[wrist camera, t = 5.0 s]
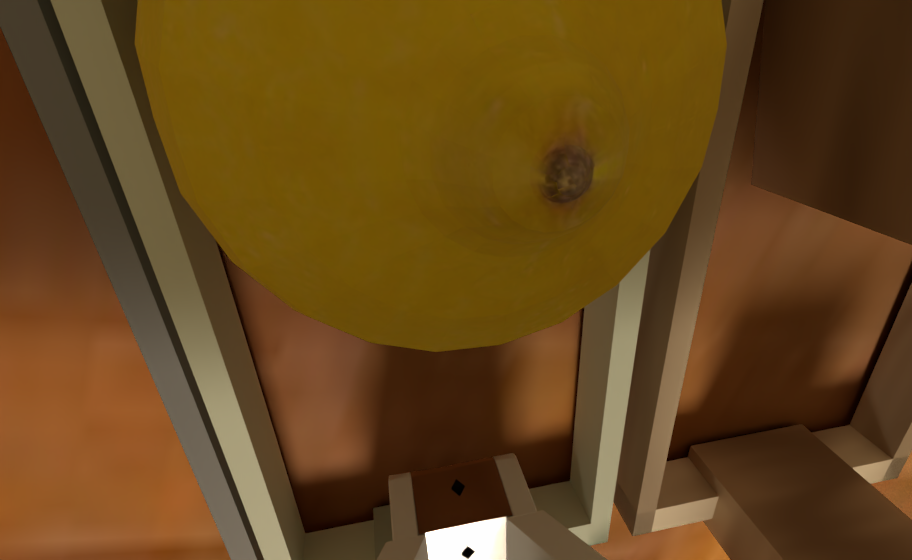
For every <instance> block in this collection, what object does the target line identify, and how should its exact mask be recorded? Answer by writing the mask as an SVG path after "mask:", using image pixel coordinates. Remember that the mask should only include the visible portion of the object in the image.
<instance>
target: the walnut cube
mask: <svg viewBox="0 0 912 560" xmlns="http://www.w3.org/2000/svg"><path fill="white" fill-rule="evenodd" d="M751 185H754V186H757V187H759V188H762V189H765V190H767V191H770V192H773V193H775V194H778V195H781V196H783V197H786V198H789V199H791V200H794V201H797V202H799V203H802V204H805V205H807V206H810V207H813V208H815V209H818V210H821V211H823V212H826V213H829V214H831V215H834V216H837V217H839V218H842V219H845V220H847V221H850V222H853V223H855V224H858V225H861V226H863V227H866V228H869V229H871V230H874V231H876V232H879V233H882V234H884V235H887V236H890V237H892V238H895V239H898V240H900V241H903V242H906V243H908V244H911V245H912V0H765V12H764V25H763V38H762V51H761V64H760V77H759V90H758V103H757V116H756V129H755V142H754V155H753V168H752V181H751Z"/></svg>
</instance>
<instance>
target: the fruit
mask: <svg viewBox="0 0 912 560" xmlns="http://www.w3.org/2000/svg"><path fill="white" fill-rule="evenodd" d="M135 47H136V51H137V55H138V59H139V63H140V67H141V71H142V75H143V79H144V83H145V87H146V91H147V95H148V98H149V102H150V106H151V110H152V114H153V118H154V121H155V124H156V127H157V129H158V132H159V135H160V138H161V141H162V143H163V146H164V149H165V152H166V154H167V157H168V160H169V163H170V166H171V168H172V171H173V174H174V177H175V180H176V182H177V185H178V188H179V191H180V193H181V195H182V196H183V197H184V199H185V200H186V201H187V203H188V204H189V205H190V207H191V208H192V209H193V211H194V212H195V213H196V215H197V216H198V217H199V219H200V220H201V221H202V223H203V224H204V225H205V227H206V228H207V229H208V231H209V232H210V233H211V235H212V236H213V237H214V239H215V240H216V241H217V243H218V244H219V245H220V247H221V248H222V249H223V251H224V252H225V253H226V255H227V256H228V257H229V259H230V260H231V261H232V262H233V263H234V264H235V265H237V266H238V267H239V268H241V269H242V270H243V271H244V272H246V273H247V274H248V275H250V276H251V277H252V278H253V279H255V280H256V281H257V282H259V283H260V284H261V285H262V286H264V287H265V288H266V289H268V290H269V291H270V292H271V293H273V294H274V295H275V296H277V297H278V298H279V299H281V300H282V301H283V302H284V303H286V304H287V305H288V306H290V307H291V308H292V309H293V310H295V311H297V312H299V313H302V314H304V315H306V316H308V317H310V318H313V319H315V320H318V321H320V322H322V323H325V324H327V325H329V326H332V327H334V328H337V329H339V330H341V331H344V332H346V333H349V334H351V335H353V336H356V337H358V338H360V339H363V340H365V341H368V342H370V343H376V344H383V345H390V346H397V347H404V348H412V349H419V350H426V351H433V352H440V351H449V350H458V349H468V348H477V347H486V346H495V345H501V344H504V343H507V342H510V341H512V340H515V339H518V338H520V337H523V336H526V335H529V334H531V333H534V332H537V331H539V330H542V329H545V328H548V327H550V326H553V325H556V324H558V323H561V322H563V321H564V320H566V319H567V318H569V317H570V316H572V315H573V314H575V313H576V312H578V311H579V310H581V309H582V308H584V307H585V306H587V305H588V304H590V303H591V302H593V301H594V300H596V299H597V298H599V297H600V296H602V295H603V294H605V293H606V292H607V291H609V290H610V289H612V288H613V287H615V286H616V285H618V284H619V283H620V281H621V280H622V279H623V278H624V277H625V276H626V275H627V274H628V273H629V272H630V271H631V269H632V268H633V267H634V266H635V265H636V264H637V263H638V262H639V261H640V260H641V259H642V258H643V256H644V255H645V254H646V253H647V252H648V251H649V250H650V249H651V248H652V247H653V246H654V245H655V243H656V242H657V241H658V240H659V239H660V238H661V237H662V236H663V235H664V234H665V232H666V231H667V229H668V227H669V225H670V223H671V222H672V220H673V218H674V216H675V214H676V213H677V211H678V209H679V207H680V206H681V204H682V202H683V200H684V198H685V197H686V195H687V193H688V191H689V189H690V188H691V186H692V184H693V182H694V180H695V179H696V177H697V175H698V173H699V172H700V170H701V168H702V165H703V162H704V158H705V154H706V151H707V147H708V143H709V140H710V136H711V132H712V129H713V125H714V121H715V118H716V114H717V110H718V105H719V98H720V91H721V84H722V77H723V70H724V63H725V56H726V49H727V41H726V33H725V25H724V17H723V9H722V1H721V0H138V3H137V17H136V31H135Z"/></svg>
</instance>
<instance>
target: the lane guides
mask: <svg viewBox="0 0 912 560" xmlns="http://www.w3.org/2000/svg"><path fill="white" fill-rule="evenodd" d="M0 27H1V29H2V32H3V34H4V36H5V39H6V41H7V43H8V45H9V48H10V50H11V52H12V55H13V57H14V59H15V62H16V64H17V66H18V69H19V71H20V73H21V75H22V78H23V80H24V82H25V85H26V87H27V89H28V92H29V94H30V96H31V99H32V101H33V103H34V105H35V108H36V110H37V112H38V115H39V117H40V119H41V122H42V124H43V126H44V129H45V131H46V133H47V135H48V138H49V140H50V142H51V145H52V147H53V149H54V152H55V154H56V156H57V159H58V161H59V163H60V165H61V168H62V170H63V172H64V175H65V177H66V179H67V182H68V184H69V186H70V189H71V191H72V193H73V195H74V198H75V200H76V202H77V205H78V207H79V209H80V212H81V214H82V216H83V219H84V221H85V223H86V225H87V228H88V230H89V232H90V235H91V237H92V239H93V242H94V244H95V246H96V249H97V251H98V253H99V255H100V258H101V260H102V262H103V265H104V267H105V269H106V272H107V274H108V276H109V279H110V281H111V283H112V285H113V288H114V290H115V292H116V295H117V297H118V299H119V302H120V304H121V306H122V309H123V311H124V313H125V315H126V318H127V320H128V322H129V325H130V327H131V329H132V332H133V334H134V336H135V339H136V341H137V343H138V345H139V348H140V350H141V352H142V355H143V357H144V359H145V362H146V364H147V366H148V369H149V371H150V373H151V375H152V378H153V380H154V382H155V385H156V387H157V389H158V392H159V394H160V396H161V399H162V401H163V403H164V405H165V408H166V410H167V412H168V415H169V417H170V419H171V422H172V424H173V426H174V429H175V431H176V433H177V435H178V438H179V440H180V442H181V445H182V447H183V449H184V452H185V454H186V456H187V459H188V461H189V463H190V465H191V468H192V470H193V472H194V475H195V477H196V479H197V482H198V484H199V486H200V489H201V491H202V493H203V495H204V498H205V500H206V502H207V505H208V507H209V509H210V512H211V514H212V516H213V519H214V521H215V523H216V525H217V528H218V530H219V532H220V535H221V537H222V539H223V542H224V544H225V546H226V549H227V551H228V553H229V555H230V558H231V560H264V558H263V555H262V552H261V550H260V547H259V545H258V542H257V539H256V537H255V534H254V532H253V529H252V526H251V524H250V521H249V518H248V516H247V513H246V511H245V508H244V505H243V503H242V500H241V498H240V495H239V492H238V490H237V487H236V484H235V482H234V479H233V477H232V474H231V471H230V469H229V466H228V463H227V461H226V458H225V456H224V453H223V450H222V448H221V445H220V443H219V440H218V437H217V435H216V432H215V429H214V427H213V424H212V422H211V419H210V416H209V414H208V411H207V409H206V406H205V403H204V401H203V398H202V395H201V393H200V390H199V388H198V385H197V382H196V380H195V377H194V375H193V372H192V369H191V367H190V364H189V361H188V359H187V356H186V354H185V351H184V348H183V346H182V343H181V340H180V338H179V335H178V333H177V330H176V327H175V325H174V322H173V320H172V317H171V314H170V312H169V309H168V306H167V304H166V301H165V299H164V296H163V293H162V291H161V288H160V286H159V283H158V280H157V278H156V275H155V272H154V270H153V267H152V265H151V262H150V259H149V257H148V254H147V252H146V249H145V246H144V244H143V241H142V238H141V236H140V233H139V231H138V228H137V225H136V223H135V220H134V217H133V215H132V212H131V210H130V207H129V204H128V202H127V199H126V197H125V194H124V191H123V189H122V186H121V183H120V181H119V178H118V176H117V173H116V170H115V168H114V165H113V163H112V160H111V157H110V155H109V152H108V149H107V147H106V144H105V142H104V139H103V136H102V134H101V131H100V129H99V126H98V123H97V121H96V118H95V115H94V113H93V110H92V108H91V105H90V102H89V100H88V97H87V94H86V92H85V89H84V87H83V84H82V81H81V79H80V76H79V74H78V71H77V68H76V66H75V63H74V60H73V58H72V55H71V53H70V50H69V47H68V45H67V42H66V40H65V37H64V34H63V32H62V29H61V26H60V24H59V21H58V19H57V16H56V13H55V11H54V8H53V6H52V3H51V0H0Z"/></svg>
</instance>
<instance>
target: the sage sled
mask: <svg viewBox="0 0 912 560" xmlns="http://www.w3.org/2000/svg"><path fill="white" fill-rule="evenodd" d="M51 3H52V6H53V8H54V11H55V13H56V16H57V19H58V21H59V24H60V26H61V29H62V32H63V34H64V37H65V40H66V42H67V45H68V47H69V50H70V53H71V55H72V58H73V60H74V63H75V66H76V68H77V71H78V74H79V76H80V79H81V81H82V84H83V87H84V89H85V92H86V94H87V97H88V100H89V102H90V105H91V108H92V110H93V113H94V115H95V118H96V121H97V123H98V126H99V129H100V131H101V134H102V136H103V139H104V142H105V144H106V147H107V149H108V152H109V155H110V157H111V160H112V163H113V165H114V168H115V170H116V173H117V176H118V178H119V181H120V183H121V186H122V189H123V191H124V194H125V197H126V199H127V202H128V204H129V207H130V210H131V212H132V215H133V217H134V220H135V223H136V225H137V228H138V231H139V233H140V236H141V238H142V241H143V244H144V246H145V249H146V252H147V254H148V257H149V259H150V262H151V265H152V267H153V270H154V272H155V275H156V278H157V280H158V283H159V286H160V288H161V291H162V293H163V296H164V299H165V301H166V304H167V306H168V309H169V312H170V314H171V317H172V320H173V322H174V325H175V327H176V330H177V333H178V335H179V338H180V340H181V343H182V346H183V348H184V351H185V354H186V356H187V359H188V361H189V364H190V367H191V369H192V372H193V375H194V377H195V380H196V382H197V385H198V388H199V390H200V393H201V395H202V398H203V401H204V403H205V406H206V409H207V411H208V414H209V416H210V419H211V422H212V424H213V427H214V429H215V432H216V435H217V437H218V440H219V443H220V445H221V448H222V450H223V453H224V456H225V458H226V461H227V463H228V466H229V469H230V471H231V474H232V477H233V479H234V482H235V484H236V487H237V490H238V492H239V495H240V498H241V500H242V503H243V505H244V508H245V511H246V513H247V516H248V518H249V521H250V524H251V526H252V529H253V532H254V534H255V537H256V539H257V542H258V545H259V547H260V550H261V552H262V555H263V558H264V560H377V558H378V556H379V554H380V553H381V551H382V549H383V547H384V545H385V543H386V542H389V541H393V539H392V526H391V512H390V505H387V506H382V507H376V508H373V516H374V520H371V521H366V522H361V523H356V524H351V525H346V526H341V527H335V528H330V529H325V530H320V531H315V532H310V533H305V531H304V528H303V524H302V521H301V518H300V514H299V511H298V508H297V505H296V501H295V498H294V495H293V492H292V488H291V485H290V482H289V478H288V475H287V472H286V469H285V465H284V462H283V459H282V456H281V452H280V449H279V446H278V442H277V439H276V436H275V433H274V429H273V426H272V423H271V420H270V416H269V413H268V410H267V407H266V403H265V400H264V397H263V393H262V390H261V387H260V384H259V380H258V377H257V374H256V371H255V367H254V364H253V361H252V357H251V354H250V351H249V348H248V344H247V341H246V338H245V335H244V331H243V328H242V325H241V321H240V318H239V315H238V312H237V308H236V305H235V302H234V299H233V295H232V292H231V289H230V285H229V282H228V279H227V276H226V272H225V269H224V266H223V263H222V259H221V256H220V253H219V249H218V246H217V243H216V240H215V239H214V237H213V236H212V235H211V233H210V232H209V231H208V229H207V228H206V227H205V225H204V224H203V223H202V221H201V220H200V219H199V217H198V216H197V215H196V213H195V212H194V211H193V209H192V208H191V207H190V205H189V204H188V203H187V201H186V200H185V199H184V197H183V196H182V195H181V193H180V191H179V188H178V185H177V182H176V180H175V177H174V174H173V171H172V168H171V166H170V163H169V160H168V157H167V154H166V152H165V149H164V146H163V143H162V141H161V138H160V135H159V132H158V129H157V127H156V124H155V121H154V118H153V114H152V110H151V106H150V102H149V98H148V95H147V91H146V87H145V83H144V79H143V75H142V71H141V67H140V63H139V59H138V55H137V51H136V47H135V31H136V17H137V3H138V0H51ZM650 250H651V249H650ZM650 250H649V251H648V252H647V253H646V254H645V255H644V256H643V258H642V259H641V260H640V261H639V262H638V263H637V264H636V265H635V266H634V267H633V268H632V269H631V271H630V272H629V273H628V274H627V275H626V276H625V277H624V278H623V279H622V280H621V281H620V283H619V284H618V285H616V286H615V287H613V288H612V289H610V290H609V291H607V292H606V293H605V294H603V295H602V296H600V297H599V298H597V299H596V300H594V301H593V302H591V303H590V304H588V305H587V306H585V307H584V318H583V330H582V342H581V354H580V366H579V378H578V390H577V402H576V414H575V426H574V438H573V450H572V462H571V474H570V481H566V482H561V483H556V484H551V485H546V486H541V487H536V488H531V489H529V491H530V493H531V496H532V498H533V501H534V504H535V506H536V509H537V511H542V510H544V511H545V512H547V513H548V514H549V515H550V516H552V517H553V518H554V519H556V520H557V521H558V522H559V523H561V524H562V525H563V526H565V527H566V528H567V529H569V530H570V531H571V532H572V533H574V534H575V535H576V536H578V537H579V538H580V539H581V540H583V541H584V542H585V543H587V544H588V545H589V546H591V545H595V544H600V543H604V542H607V541H608V534H609V527H610V520H611V514H612V507H613V500H614V493H615V486H616V480H617V473H618V466H619V459H620V453H621V446H622V439H623V432H624V426H625V419H626V412H627V405H628V399H629V392H630V385H631V378H632V371H633V365H634V358H635V351H636V344H637V338H638V331H639V324H640V317H641V311H642V304H643V297H644V290H645V283H646V277H647V270H648V263H649V256H650Z"/></svg>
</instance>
